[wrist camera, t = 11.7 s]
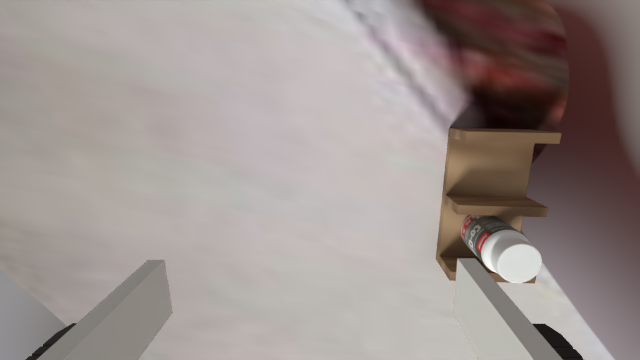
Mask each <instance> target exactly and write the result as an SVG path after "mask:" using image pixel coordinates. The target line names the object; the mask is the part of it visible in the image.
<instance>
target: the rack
mask: <svg viewBox="0 0 640 360" xmlns="http://www.w3.org/2000/svg"><path fill="white" fill-rule="evenodd" d="M560 138H561V133H555V132H548V131H540V130H532V129H481V128H449V135H448V145H447V155H446V165H445V175H444V185H443V195H442V205H441V215H440V224H439V234H438V244H437V254H436V260H437V262H438V263H439V265H440V266H441V268H442V269H443V271H444V272H445V274H446V275H447V277H448V279H449V280H454V281H456V270H457V258H475V259H476V260H477V261H478V262H479V263H480V264H481V266H482V267H483V268H484V269H485V270H486V271H487V272H488V274H489V275H490V276H491V277H492V278H493V279H494V281H495V282H509V281H507V280H505V279H504V278H502V277H501V276H500V275H499V274H498V273H495V272H493V271H491V270H490V269H489V268H488V267H486V265H485V264H484V263H483V262H482V261H481V260H480V259H479V258H478V257H477V256H476V255H475V254H474V253H473V251H472V250H471V249H470V248H469V247H468V246H467V245H466V244H465V243H464V241H463V239H462V237H461V227H462V225H463V223H464V221H465V220H466V219H467V218H468V217H469V216H470V215H494V216H497V217H499V218H500V219H502V220H503V221H504V222H506V223H507V224H509V225H510V226H512V227H513V228H515V229H516V230H517V231H519V232H521V225H522V219H523V216H532V217H546V216H547V211H548V207H546V206H544V205H542V204H539V203H537V202H536V201H534V200H531V199H529V198H527V197H526V194H527V188H528V181H529V175H530V169H531V163H532V157H533V150H534V144H535V143H553V144H559V143H560ZM535 279H536V276H535V277H534V278H532V279H531V280H529V281H527V282H523V283H535ZM511 283H512V282H511Z"/></svg>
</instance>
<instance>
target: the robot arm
mask: <svg viewBox="0 0 640 360" xmlns="http://www.w3.org/2000/svg"><path fill="white" fill-rule="evenodd" d="M172 313H173V312H172V305H171V299H170V293H169V286H168V280H167V274H166V267H165V261H164V260H147V261H146V262H145V263H144V264H143V265H142V266H141V267H140V268H138V269H137V270H136V271H135V272H134V273H133V274H132V275H131V276H130V277H128V278H127V279H126V280H125V281H124V282H123V283H122V284H121V285H119V286H118V287H117V288H116V289H115V290H114V291H113V292H112V293H111V294H109V295H108V296H107V297H106V298H105V299H104V300H103V301H102V302H100V303H99V304H98V305H97V306H96V307H95V308H94V309H93V310H92V311H90V312H89V313H88V314H87V315H86V316H85V317H84V318H83V319H81V320H80V321H79V322H78V323H73V324H71V325H69V326H68V327H66V328H64V329H63V330H61V331H59V332H57V333H56V334H55V335H54V336H53V337H52V338H50V339H49V340H48V341H47V342H46V343H44V344H43V347H40V348H38V349H37V350H36V351H35V352H34V353H33V354H32V356H29V357H28V358H27V359H26V360H138V359H139V358H140V356H141V355H142V353H143V352H144V351H145V349H146V348H147V347H148V345H149V344H150V343H151V341H152V340H153V339H154V337H155V336H156V334H157V333H158V332H159V330H160V329H161V328H162V326H163V325H164V324H165V322H166V321H167V320H168V318H169V317H170V315H171V314H172ZM453 314H454V316H455V318H456V320H457V322H458V323H459V325H460V327H461V329H462V331H463V333H464V334H465V336H466V338H467V340H468V342H469V344H470V345H471V347H472V349H473V351H474V353H475V355H476V356H477V358H478V360H583V358H582V356H581V355H580V354H579V353H578V352H577V351H576V350H575V349H573V347H572V346H571V345H570V343H569V342H568V341H567V340H566V339H565V338H564V337H563V336H562V335H561V334H560V333H558V332H556V331H555V330H553V329H552V328H550V327H549V326H547V325H546V324H532V323H531V322H530V321H529V320H528V319H527V318H526V316H525V315H524V314H523V313H522V312H521V311H520V310H519V308H518V307H517V306H516V305H515V304H514V303H513V301H512V300H511V299H510V298H509V297H508V296H507V294H506V293H505V292H504V291H503V290H502V289H501V288H500V286H499V285H498V284H497V283H496V282H495V281H494V279H493V278H492V277H491V276H490V275H489V274H488V272H487V271H486V270H485V269H484V268H483V267H482V266H481V264H480V263H479V262H478V261H477V260H476V259H475V258H457V270H456V281H455V293H454V305H453Z"/></svg>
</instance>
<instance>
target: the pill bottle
mask: <svg viewBox="0 0 640 360" xmlns="http://www.w3.org/2000/svg"><path fill="white" fill-rule="evenodd" d="M461 237H462V239H463V241H464V243H465V244H466V245H467V246H468V247H469V248H470V249H471V250H472V251H473V253H474V254H475V255H476V256H477V257H478V258H479V259H480V260H481V261H482V262H483V263H484V264H485V265H486V267H488V268H489V269H490V270H491V271H493V272H495V273H498V274H499V275H500V276H501V277H502V278H504V279H505V280H507V281H509V282H512V283H523V282H527V281H529V280H531V279H532V278H534V277H535V276H536V275H537V273H538V272H539V270H540V268H541V264H542V258H541V255H540V253H539V251H538V250H537V249H536V248H535V247H533V246H532V245H531V244H530V242H529V241H528V239H527V238H526V237H525V236H524V235H523V234H522V233H520V232H519V231H517V230H516V229H515V228H513V227H512V226H510V225H509V224H507V223H506V222H504V221H503V220H502V219H500V218H499V217H497V216H494V215H470V216H469V217H468V218H467V219H466V220H465V221H464V223H463V225H462V227H461Z"/></svg>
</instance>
